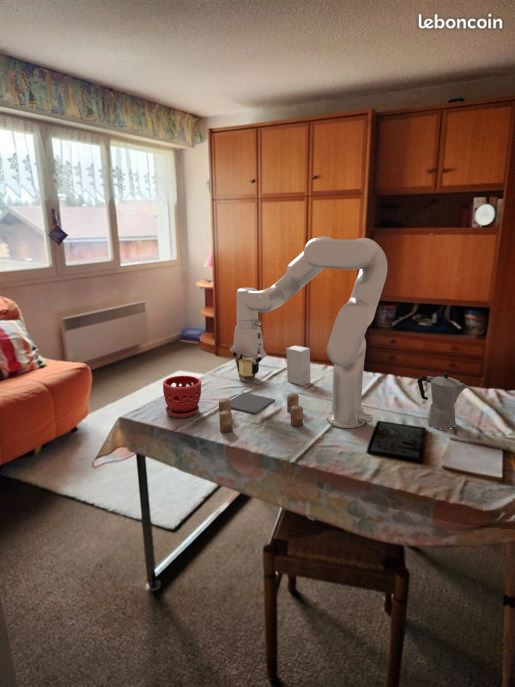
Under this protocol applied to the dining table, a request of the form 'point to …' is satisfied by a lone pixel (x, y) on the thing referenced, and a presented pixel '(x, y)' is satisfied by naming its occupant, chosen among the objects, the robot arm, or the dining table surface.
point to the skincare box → (298, 365)
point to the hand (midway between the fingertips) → (247, 371)
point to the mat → (250, 403)
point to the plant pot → (182, 395)
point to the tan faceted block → (246, 367)
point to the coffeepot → (442, 399)
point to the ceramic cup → (245, 378)
